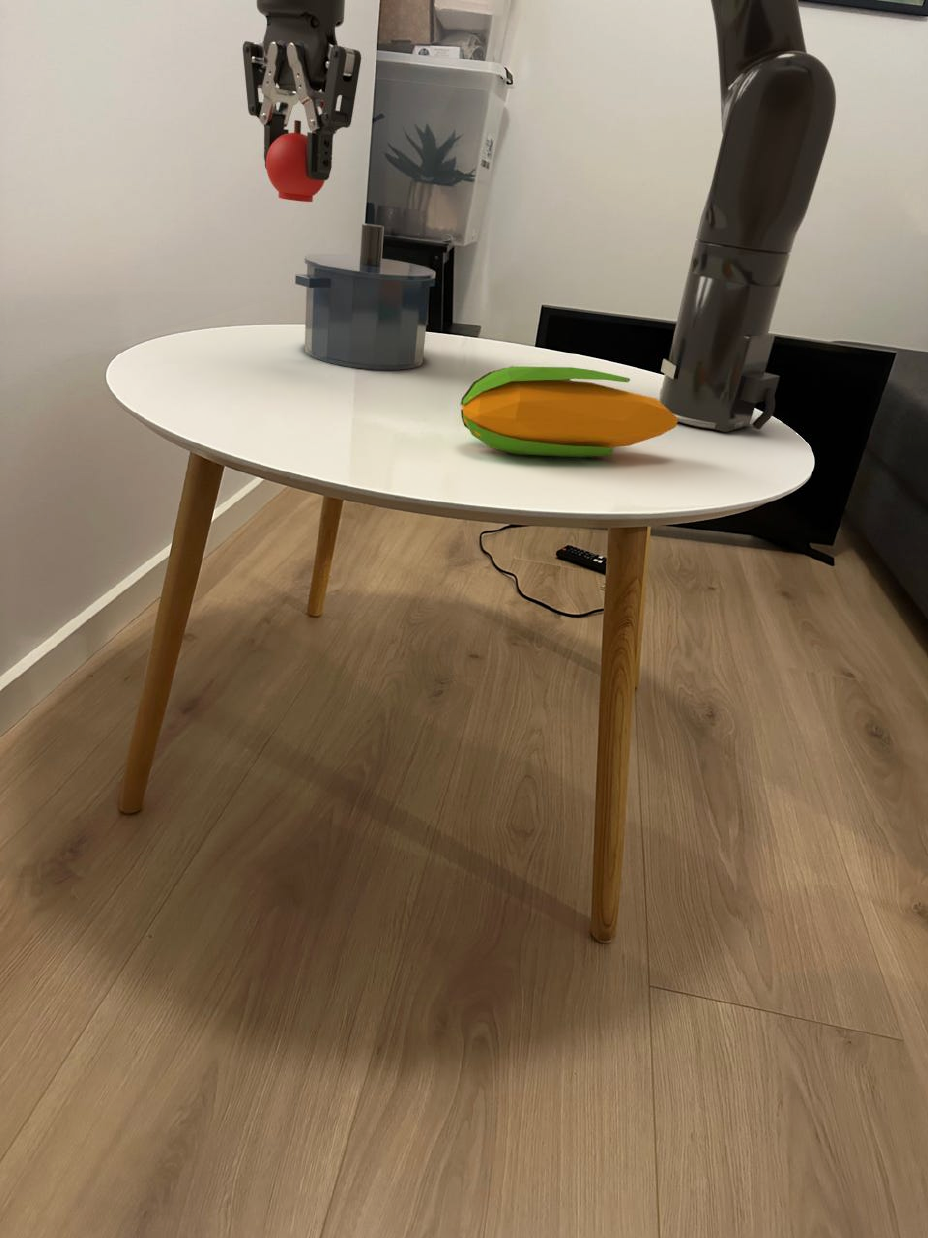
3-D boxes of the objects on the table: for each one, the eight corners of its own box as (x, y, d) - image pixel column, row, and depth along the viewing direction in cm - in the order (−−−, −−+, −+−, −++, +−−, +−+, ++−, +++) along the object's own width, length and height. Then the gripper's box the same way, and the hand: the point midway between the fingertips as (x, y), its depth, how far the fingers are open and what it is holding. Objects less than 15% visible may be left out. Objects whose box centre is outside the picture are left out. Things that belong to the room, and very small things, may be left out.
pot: (461, 362, 103) (471, 279, 98) (340, 376, 90) (345, 280, 85) (383, 338, 110) (389, 259, 106) (261, 347, 97) (262, 257, 93)
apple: (337, 205, 82) (341, 126, 79) (290, 201, 78) (292, 118, 75) (300, 197, 85) (302, 121, 82) (253, 194, 81) (253, 114, 78)
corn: (456, 346, 72) (668, 360, 77) (444, 432, 76) (647, 440, 81) (479, 374, 66) (707, 388, 71) (466, 466, 70) (683, 472, 75)
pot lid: (461, 285, 97) (466, 236, 94) (365, 287, 87) (368, 232, 84) (373, 263, 105) (376, 218, 102) (276, 263, 95) (277, 212, 92)
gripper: (392, -38, 71) (377, 187, 79) (284, -35, 79) (280, 170, 87) (323, -62, 66) (314, 181, 74) (215, -56, 74) (217, 163, 82)
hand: (296, 174), depth 81 cm, fingers closed on apple, 5 cm apart
